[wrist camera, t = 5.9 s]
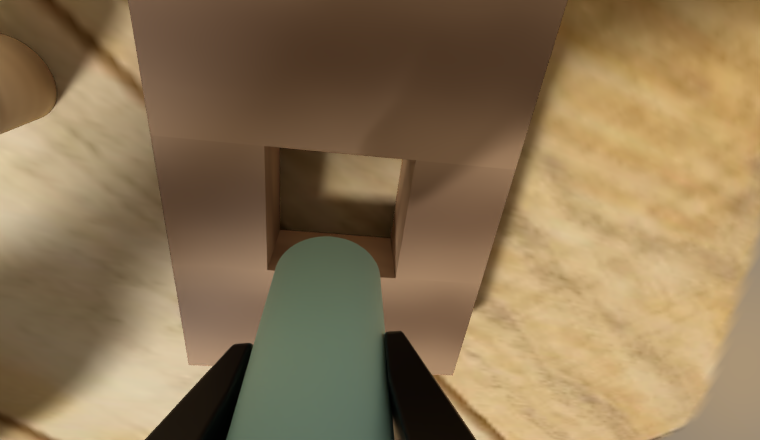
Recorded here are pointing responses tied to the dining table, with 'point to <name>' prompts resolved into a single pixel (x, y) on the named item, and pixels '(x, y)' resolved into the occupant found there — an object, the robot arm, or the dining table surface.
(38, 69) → the short beech pin
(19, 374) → the dining table surface
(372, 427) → the long teal pin
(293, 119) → the walnut hole block
